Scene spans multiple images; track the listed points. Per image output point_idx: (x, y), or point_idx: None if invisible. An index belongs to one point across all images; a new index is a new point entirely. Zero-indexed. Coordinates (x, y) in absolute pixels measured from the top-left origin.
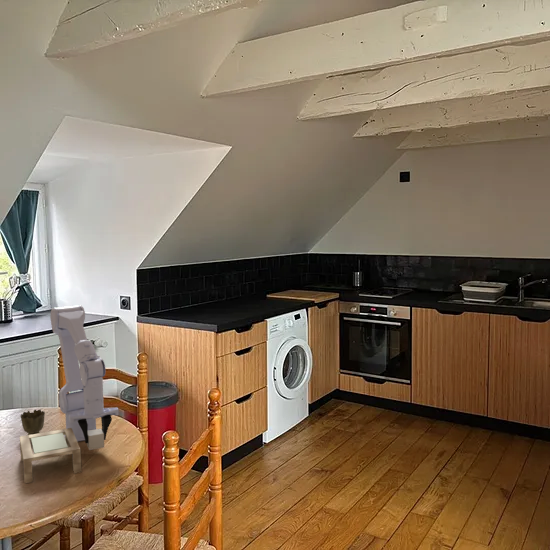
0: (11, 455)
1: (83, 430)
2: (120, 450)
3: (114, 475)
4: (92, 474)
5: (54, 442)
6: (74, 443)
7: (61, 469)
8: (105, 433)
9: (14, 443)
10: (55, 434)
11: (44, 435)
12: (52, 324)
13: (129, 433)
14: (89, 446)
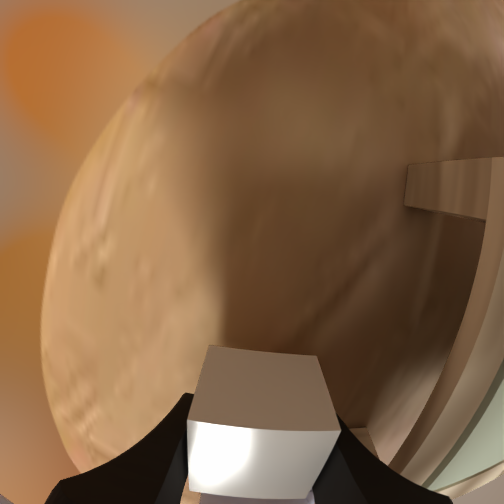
0: None
1: (393, 477)
2: (121, 322)
3: (258, 15)
4: (364, 93)
5: None
6: (501, 316)
7: (462, 265)
8: (170, 423)
9: None
10: (454, 480)
11: (479, 474)
12: None
13: (79, 438)
14: (318, 371)
